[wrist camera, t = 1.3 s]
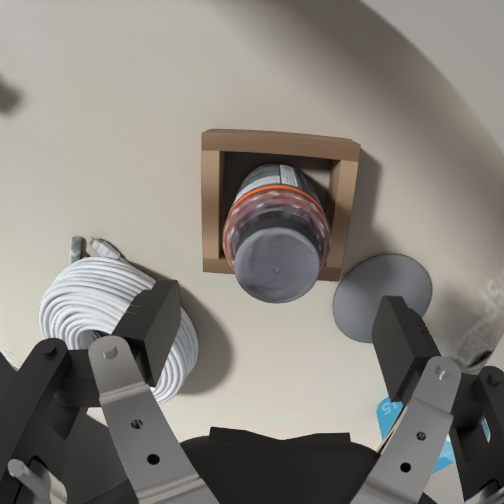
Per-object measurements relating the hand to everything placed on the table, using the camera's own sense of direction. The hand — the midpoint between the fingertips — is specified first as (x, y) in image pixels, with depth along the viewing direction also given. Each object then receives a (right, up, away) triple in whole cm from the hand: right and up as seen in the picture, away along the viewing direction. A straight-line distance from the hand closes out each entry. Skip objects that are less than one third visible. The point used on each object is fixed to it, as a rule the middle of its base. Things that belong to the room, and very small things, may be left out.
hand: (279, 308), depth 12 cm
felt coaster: (+11, -2, +16) cm, 20 cm away
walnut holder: (+1, +6, +12) cm, 14 cm away
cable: (-15, -5, +20) cm, 26 cm away
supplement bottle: (+1, +6, +13) cm, 14 cm away
